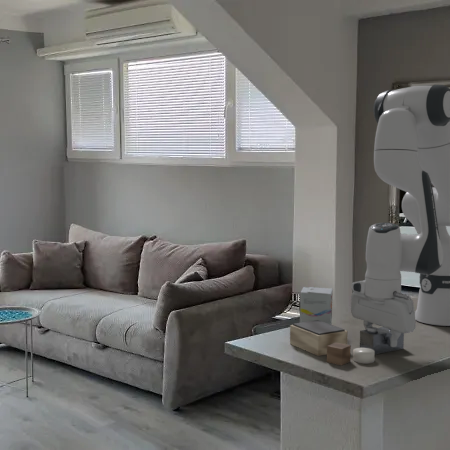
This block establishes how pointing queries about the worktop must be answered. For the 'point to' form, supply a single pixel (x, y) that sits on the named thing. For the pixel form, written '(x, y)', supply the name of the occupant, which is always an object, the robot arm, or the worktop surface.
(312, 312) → the ink box
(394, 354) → the worktop surface
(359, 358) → the white egg shape
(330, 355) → the walnut block
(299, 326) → the stand
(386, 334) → the block
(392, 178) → the robot arm
